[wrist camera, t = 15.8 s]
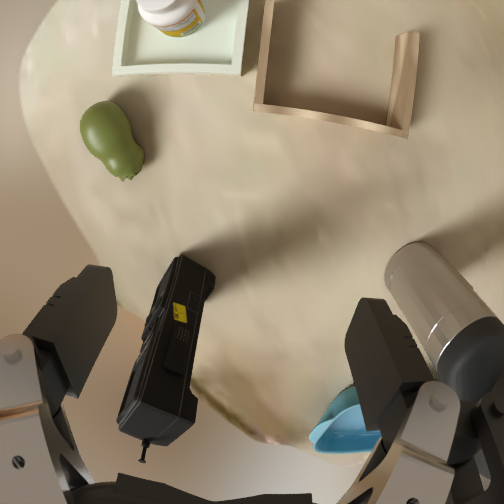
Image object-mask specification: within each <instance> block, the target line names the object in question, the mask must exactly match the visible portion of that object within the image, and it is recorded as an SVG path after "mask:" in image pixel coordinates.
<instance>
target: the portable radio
mask: <svg viewBox="0 0 504 504" xmlns="http://www.w3.org/2000/svg"><path fill="white" fill-rule="evenodd" d="M214 284H215V276H214V275H213V274H212V273H211V272H210V271H209V270H207V269H206V268H204V267H202V266H201V265H199V264H197V263H195V262H193V261H192V260H190V259H188V258H186V257H185V256H182V255H181V256H179V257H175V258H174V259H173V261H172V263H171V264H170V266H169V268H168V269H167V271H166V273H165V274H164V276H163V278H162V280H161V281H160V283H159V285H158V287H157V289H156V293H155V297H154V300H153V304H152V307H151V310H150V313H149V316H148V317H147V319H146V323H145V328H144V331H143V334H142V340H143V344H142V347H141V350H140V355H139V356H138V358H137V360H136V361H135V364H134V367H133V369H132V373H131V376H130V379H129V382H128V385H127V388H126V391H125V394H124V397H123V401H122V404H121V407H120V411H119V414H118V417H117V423H118V424H119V428H118V429H119V431H121V432H123V433H126V434H128V435H130V436H133V437H135V438H138V439H140V440H143V441H142V446H143V451H142V456H141V459H139V460H138V461H139V462H141V463H146V461H145V460H144V459H145V454H146V449H147V448H149V445H150V443H151V444H155V445H161V446H168V445H169V444H170V443H172V442H173V441H174V440H175V439H177V438H178V437H179V436H180V435H182V434H183V433H184V432H185V431H187V430H188V429H189V428H190V427H191V426H192V425H193V424H194V423H195V419H196V411H197V403H198V398H197V397H195V396H194V395H193V394H192V392H191V390H190V388H189V387H190V381H191V375H192V369H193V363H194V357H195V351H196V345H197V340H198V334H199V329H200V323H201V318H202V312H203V307H204V302H205V300H206V299H207V297H208V296H209V295H210V293H211V292H212V291H213V289H214Z"/></svg>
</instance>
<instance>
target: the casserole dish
mask: <svg viewBox="0 0 504 504" xmlns="http://www.w3.org/2000/svg"><path fill="white" fill-rule="evenodd" d="M380 437H381V433H380V430H375V431H366V427H365V423H364V419H363V415H362V411H361V407H360V403H359V399H358V396H357V392H356V388H355V386H352V387H350V388H347V389H346V390H344V391H343V392H341V393H340V394H339V395H338V396H337V397H336V398H335V399H334V401H333V402H332V403H331V405H330V406H329V408H328V409H327V411H326V412H325V414H324V415H323V417H322V418H321V419H320V421H319V423H318V425H316V427H315V428H314V429H313V430H312V432H311V433H310V435H309V439H310V441H312V442H313V446H312V448H313V450H314V451H316V452H319V453H325V454H345V453H361V452H372V450H373V448H374V446H375V444H376V443H377V441H378V439H379V438H380Z"/></svg>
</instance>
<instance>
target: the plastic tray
mask: <svg viewBox="0 0 504 504" xmlns="http://www.w3.org/2000/svg"><path fill="white" fill-rule="evenodd" d="M200 1H201V2H202V4H203V6H204V9H205V20H204V22H203V24H202V26H201V27H200V28H199V29H198V30H197V31H196V32H194V33H193V34H191V35H189V36H186V37H181V38H174V37H170V36H167V35H165V34H164V33H162V32H161V31H159V30H158V29H157V28H155V27H154V26H152V25H151V24H150V23H148V22H147V21H145V20H144V19H143V18H142V17H141V15H140V13H139V10H138V3H137V1H136V0H122V1H121V7H120V13H119V19H118V26H117V33H116V40H115V49H114V58H113V69H112V76H117V77H126V76H142V75H174V74H189V75H221V76H238V77H241V70H242V61H243V52H244V43H245V34H246V26H247V17H248V9H249V1H250V0H200Z"/></svg>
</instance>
